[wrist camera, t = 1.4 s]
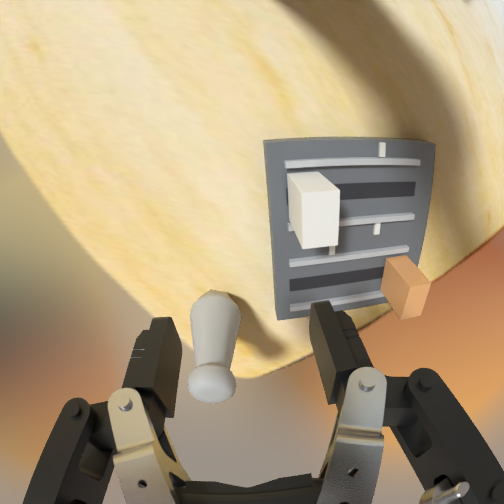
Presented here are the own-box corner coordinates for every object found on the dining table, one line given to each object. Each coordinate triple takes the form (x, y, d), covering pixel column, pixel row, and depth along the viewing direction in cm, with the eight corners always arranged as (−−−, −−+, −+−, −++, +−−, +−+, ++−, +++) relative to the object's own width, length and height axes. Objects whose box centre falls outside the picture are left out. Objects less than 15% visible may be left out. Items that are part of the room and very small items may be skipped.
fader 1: (286, 173, 23) (301, 192, 18) (318, 171, 23) (340, 190, 18) (289, 219, 25) (302, 249, 21) (318, 217, 25) (337, 245, 21)
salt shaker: (248, 294, 32) (257, 388, 21) (228, 325, 35) (229, 415, 24) (202, 276, 31) (189, 371, 20) (185, 311, 33) (171, 401, 22)
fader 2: (386, 257, 28) (410, 287, 23) (406, 255, 28) (431, 282, 23) (380, 289, 30) (400, 320, 26) (399, 285, 30) (420, 315, 26)
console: (263, 140, 24) (266, 143, 22) (424, 140, 24) (438, 145, 22) (275, 309, 34) (278, 323, 32) (402, 288, 34) (411, 300, 32)
